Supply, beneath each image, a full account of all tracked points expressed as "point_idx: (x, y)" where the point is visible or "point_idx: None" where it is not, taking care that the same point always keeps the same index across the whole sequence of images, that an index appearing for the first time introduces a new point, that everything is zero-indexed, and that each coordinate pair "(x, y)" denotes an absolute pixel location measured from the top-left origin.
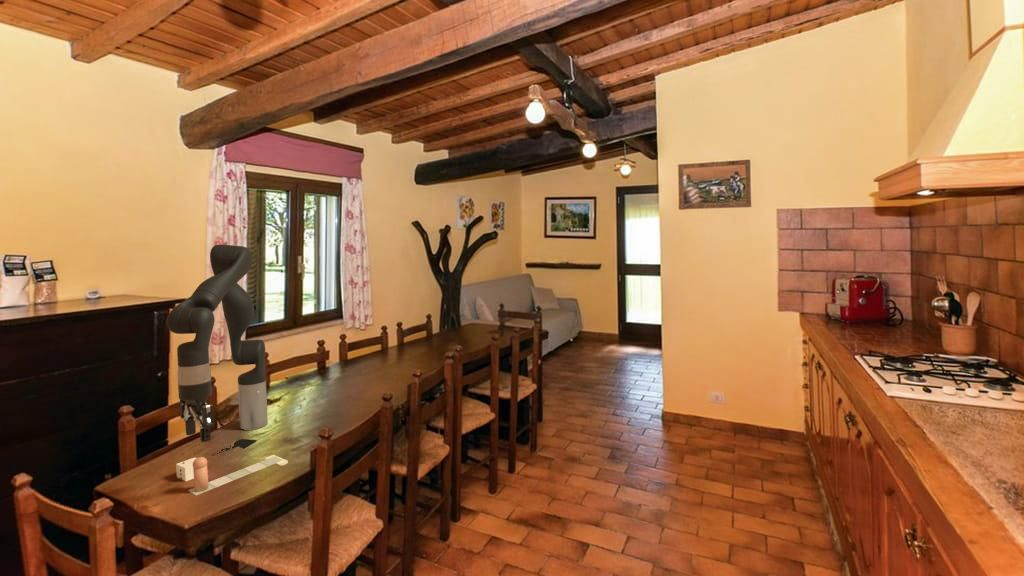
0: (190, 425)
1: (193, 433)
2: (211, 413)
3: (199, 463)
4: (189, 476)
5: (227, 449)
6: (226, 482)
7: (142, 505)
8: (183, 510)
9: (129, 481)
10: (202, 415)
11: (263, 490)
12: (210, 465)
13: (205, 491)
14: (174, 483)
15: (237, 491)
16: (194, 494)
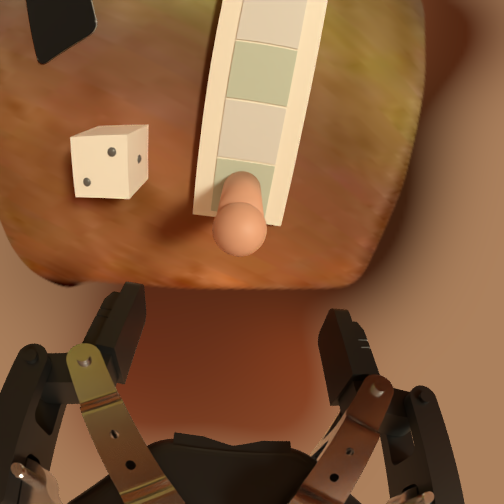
0: (126, 347)
1: (142, 293)
2: (444, 471)
3: (259, 247)
4: (140, 174)
5: (42, 6)
6: (278, 129)
7: (171, 281)
8: (290, 259)
9: (30, 236)
10: (396, 489)
11: (408, 116)
12: (88, 76)
13: (269, 194)
14: None
15: (343, 142)
16: None
